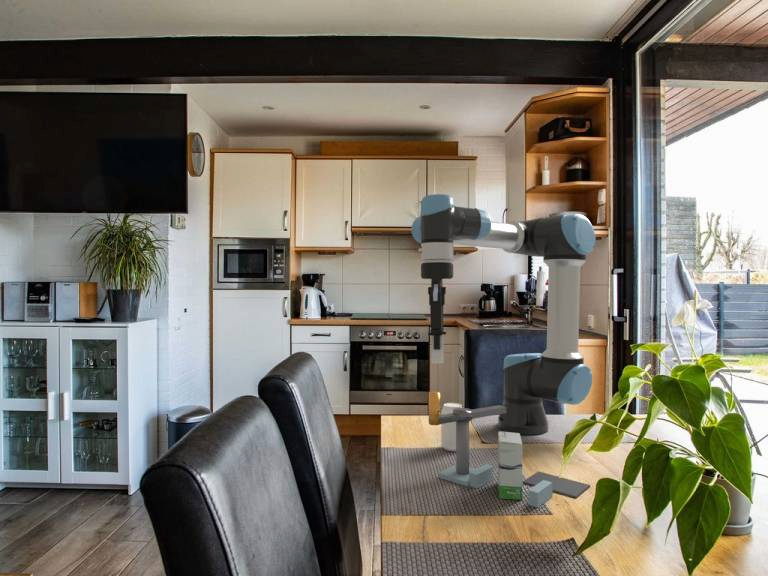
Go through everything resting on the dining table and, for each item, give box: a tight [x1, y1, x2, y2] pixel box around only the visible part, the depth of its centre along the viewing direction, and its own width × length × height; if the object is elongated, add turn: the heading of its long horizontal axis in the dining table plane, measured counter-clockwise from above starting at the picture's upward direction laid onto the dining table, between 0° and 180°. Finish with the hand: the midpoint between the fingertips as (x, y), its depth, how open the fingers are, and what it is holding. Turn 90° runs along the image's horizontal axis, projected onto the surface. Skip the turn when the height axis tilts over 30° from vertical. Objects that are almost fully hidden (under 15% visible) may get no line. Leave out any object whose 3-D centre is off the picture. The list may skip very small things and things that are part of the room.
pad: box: [522, 471, 591, 499], centre depth 110 cm, size 8×12×1 cm, turn 48°
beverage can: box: [440, 402, 463, 452], centre depth 135 cm, size 6×6×12 cm
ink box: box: [497, 431, 523, 501], centre depth 107 cm, size 9×5×12 cm, turn 168°
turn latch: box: [428, 390, 506, 426], centre depth 116 cm, size 4×22×7 cm, turn 120°
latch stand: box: [437, 421, 554, 508], centre depth 110 cm, size 8×24×13 cm, turn 48°
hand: (437, 362), depth 116 cm, fingers closed
